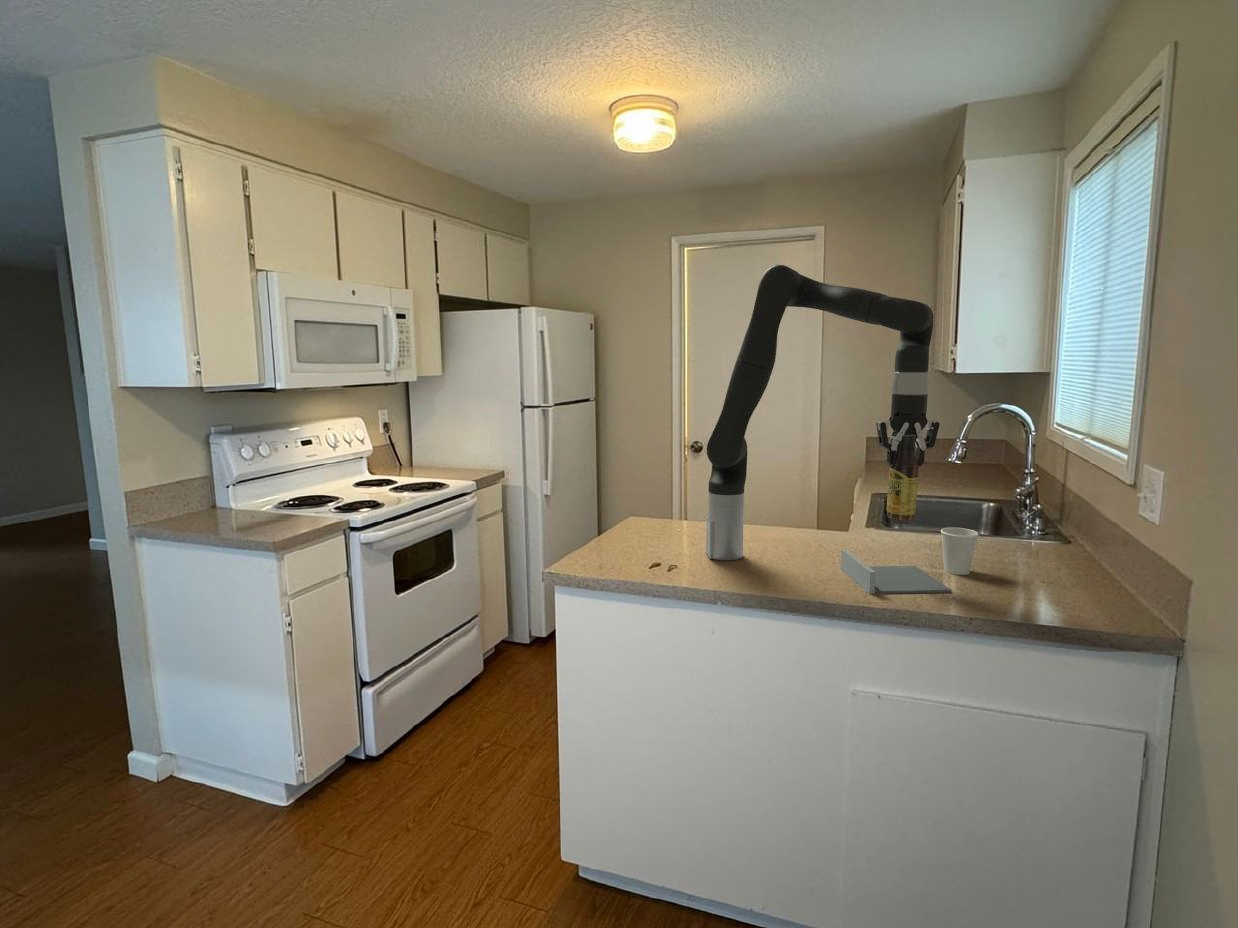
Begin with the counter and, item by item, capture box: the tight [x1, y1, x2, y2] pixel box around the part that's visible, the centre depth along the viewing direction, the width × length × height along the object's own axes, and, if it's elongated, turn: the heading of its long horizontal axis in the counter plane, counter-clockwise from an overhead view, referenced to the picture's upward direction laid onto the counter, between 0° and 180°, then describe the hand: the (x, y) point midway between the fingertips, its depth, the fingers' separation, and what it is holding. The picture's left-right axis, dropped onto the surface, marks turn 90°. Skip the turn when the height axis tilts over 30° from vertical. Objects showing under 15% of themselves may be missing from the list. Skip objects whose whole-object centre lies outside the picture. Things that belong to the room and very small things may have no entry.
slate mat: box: [869, 565, 952, 595], centre depth 166 cm, size 16×18×1 cm
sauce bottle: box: [886, 435, 920, 522], centre depth 163 cm, size 6×6×20 cm
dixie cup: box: [940, 527, 979, 576], centre depth 172 cm, size 8×8×10 cm
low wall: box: [840, 549, 876, 595], centre depth 166 cm, size 1×18×5 cm, turn 2°
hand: (905, 465), depth 162 cm, fingers closed on sauce bottle, 5 cm apart
